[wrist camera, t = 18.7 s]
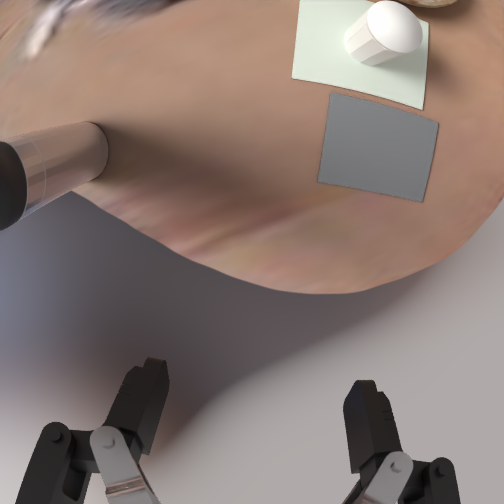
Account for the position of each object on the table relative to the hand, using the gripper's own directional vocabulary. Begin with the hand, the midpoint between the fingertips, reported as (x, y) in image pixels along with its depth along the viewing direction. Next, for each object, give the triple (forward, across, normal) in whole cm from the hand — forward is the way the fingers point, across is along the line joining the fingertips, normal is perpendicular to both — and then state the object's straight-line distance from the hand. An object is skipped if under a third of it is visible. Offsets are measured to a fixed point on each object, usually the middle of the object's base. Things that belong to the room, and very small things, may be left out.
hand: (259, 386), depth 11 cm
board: (+30, -10, -22) cm, 39 cm away
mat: (+30, -14, -8) cm, 34 cm away
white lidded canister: (+30, -10, -22) cm, 38 cm away
